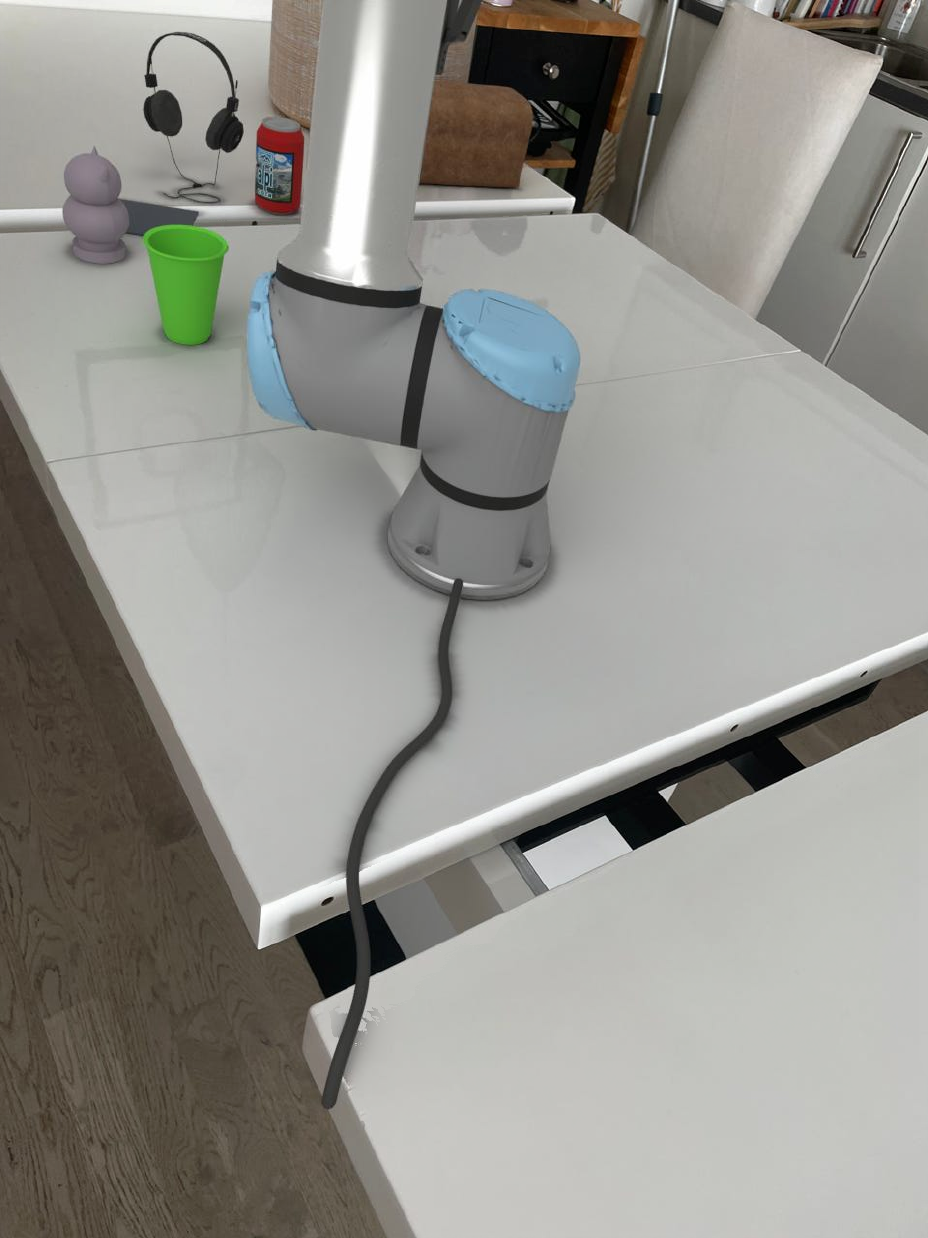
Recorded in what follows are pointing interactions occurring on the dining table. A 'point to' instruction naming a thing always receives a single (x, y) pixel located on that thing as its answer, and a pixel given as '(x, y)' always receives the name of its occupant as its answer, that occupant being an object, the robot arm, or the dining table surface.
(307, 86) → the planter
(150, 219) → the placemat
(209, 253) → the cup
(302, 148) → the beverage can
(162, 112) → the headphones
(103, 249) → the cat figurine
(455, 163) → the bread
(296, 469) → the dining table surface
